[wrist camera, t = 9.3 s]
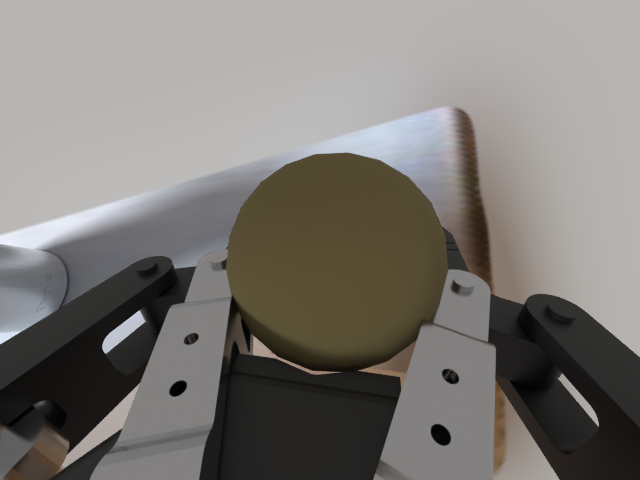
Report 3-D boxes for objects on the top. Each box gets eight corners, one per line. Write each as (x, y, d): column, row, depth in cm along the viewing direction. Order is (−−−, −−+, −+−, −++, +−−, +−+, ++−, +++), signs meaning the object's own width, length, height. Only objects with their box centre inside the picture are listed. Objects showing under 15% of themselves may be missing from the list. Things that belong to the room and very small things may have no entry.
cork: (346, 213, 17) (328, 57, 6) (423, 283, 15) (578, 241, 5) (275, 282, 16) (124, 246, 6) (347, 362, 15) (323, 514, 4)
